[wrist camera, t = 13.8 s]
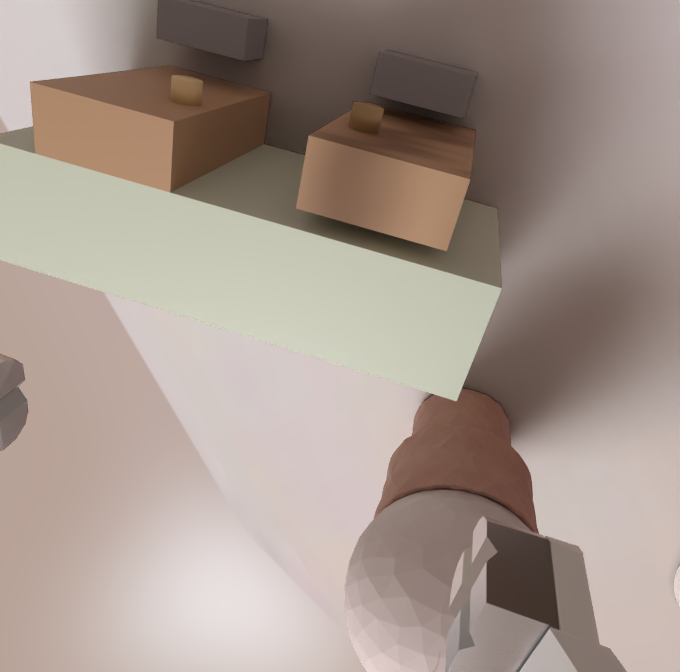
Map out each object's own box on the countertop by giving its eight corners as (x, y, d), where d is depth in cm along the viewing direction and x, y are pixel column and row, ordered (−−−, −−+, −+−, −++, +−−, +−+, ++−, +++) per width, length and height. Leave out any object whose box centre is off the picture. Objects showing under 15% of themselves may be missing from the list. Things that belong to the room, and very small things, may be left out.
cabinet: (541, 88, 30) (569, 120, 20) (465, 296, 36) (456, 401, 26) (128, -17, 32) (-42, -38, 22) (126, 197, 38) (-5, 258, 28)
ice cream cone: (451, 502, 45) (429, 793, 28) (359, 411, 43) (273, 667, 26) (571, 441, 40) (634, 754, 23) (473, 334, 37) (461, 591, 20)
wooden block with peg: (481, 111, 31) (479, 152, 21) (459, 182, 33) (446, 251, 23) (369, 82, 32) (313, 108, 21) (354, 153, 34) (296, 208, 23)
